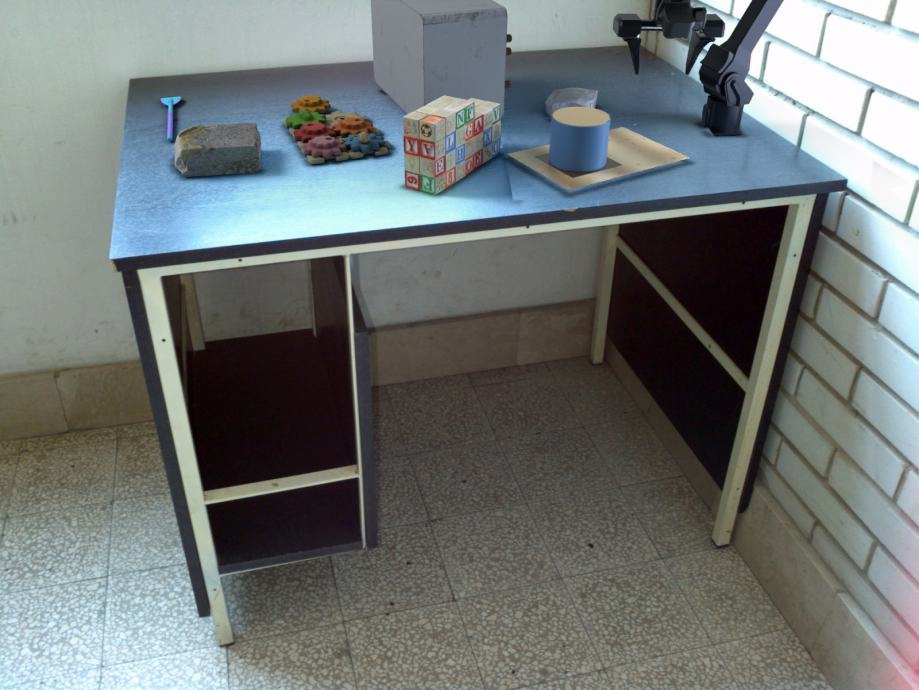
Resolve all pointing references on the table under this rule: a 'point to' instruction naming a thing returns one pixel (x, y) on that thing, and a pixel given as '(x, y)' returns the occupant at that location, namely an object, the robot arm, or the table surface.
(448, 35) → the vintage electronic device
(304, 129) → the gear puzzle
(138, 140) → the table surface
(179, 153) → the geological specimen
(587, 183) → the birch board
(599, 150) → the blue cylinder
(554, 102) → the stone block
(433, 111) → the stack of blocks
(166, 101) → the blue scraper
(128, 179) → the table surface
